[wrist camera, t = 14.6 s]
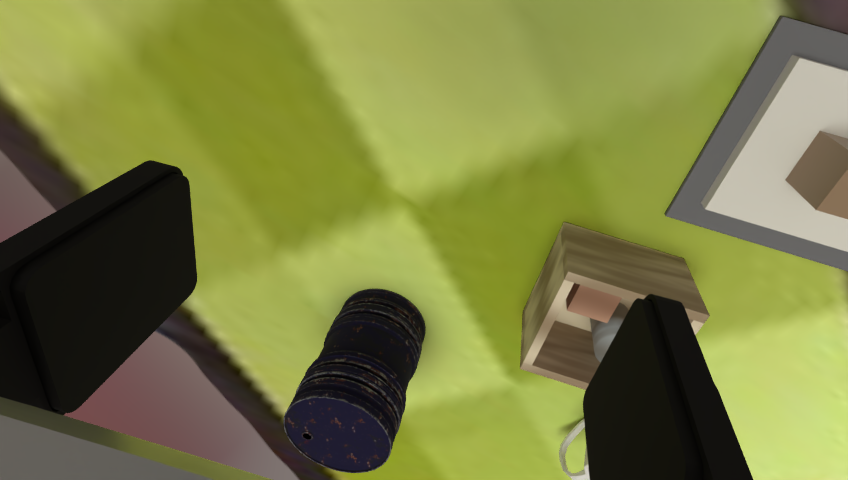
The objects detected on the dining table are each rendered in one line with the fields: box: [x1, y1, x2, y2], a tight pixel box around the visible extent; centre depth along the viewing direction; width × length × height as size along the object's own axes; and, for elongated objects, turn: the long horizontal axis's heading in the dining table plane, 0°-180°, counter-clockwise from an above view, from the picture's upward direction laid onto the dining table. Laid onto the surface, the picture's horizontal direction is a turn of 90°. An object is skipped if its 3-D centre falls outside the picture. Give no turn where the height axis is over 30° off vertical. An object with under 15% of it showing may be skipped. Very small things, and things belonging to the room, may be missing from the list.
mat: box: [665, 16, 848, 271], centre depth 38 cm, size 16×16×1 cm
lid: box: [701, 55, 848, 252], centre depth 35 cm, size 12×12×6 cm
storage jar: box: [284, 289, 425, 473], centre depth 49 cm, size 10×10×15 cm
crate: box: [520, 222, 710, 390], centre depth 44 cm, size 11×11×8 cm
